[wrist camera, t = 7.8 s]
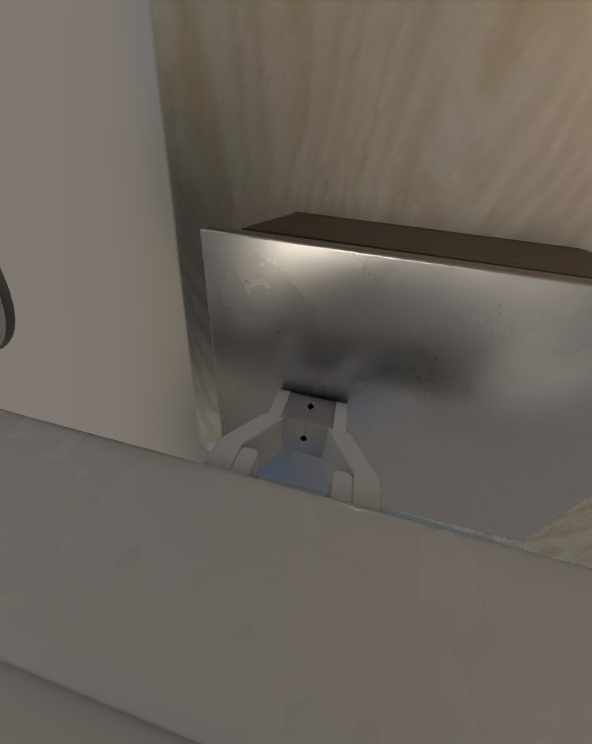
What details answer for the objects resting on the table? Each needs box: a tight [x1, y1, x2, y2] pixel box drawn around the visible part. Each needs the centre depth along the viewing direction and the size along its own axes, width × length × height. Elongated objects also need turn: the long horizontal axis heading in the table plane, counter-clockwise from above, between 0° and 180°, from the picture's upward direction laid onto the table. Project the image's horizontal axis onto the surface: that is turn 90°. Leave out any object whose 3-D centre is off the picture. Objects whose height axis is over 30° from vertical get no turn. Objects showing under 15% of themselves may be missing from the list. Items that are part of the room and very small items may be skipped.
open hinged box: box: [242, 212, 592, 279], centre depth 15 cm, size 16×13×9 cm
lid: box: [200, 226, 592, 542], centre depth 11 cm, size 16×13×1 cm
